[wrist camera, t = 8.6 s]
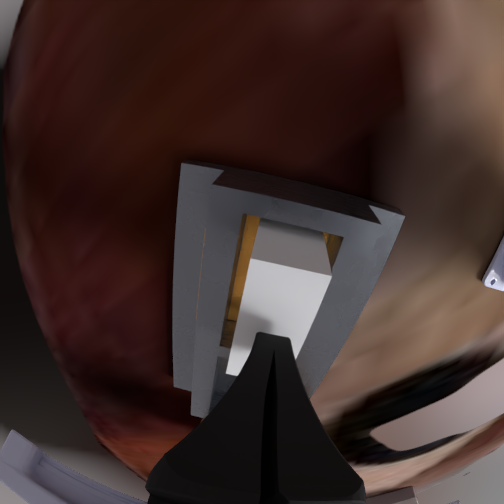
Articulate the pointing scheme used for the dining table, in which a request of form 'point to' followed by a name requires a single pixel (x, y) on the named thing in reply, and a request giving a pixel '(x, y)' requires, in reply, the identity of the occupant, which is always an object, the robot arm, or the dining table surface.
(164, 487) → the robot arm
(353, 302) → the frame
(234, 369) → the white rectangular block
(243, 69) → the dining table surface
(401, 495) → the gaming console
